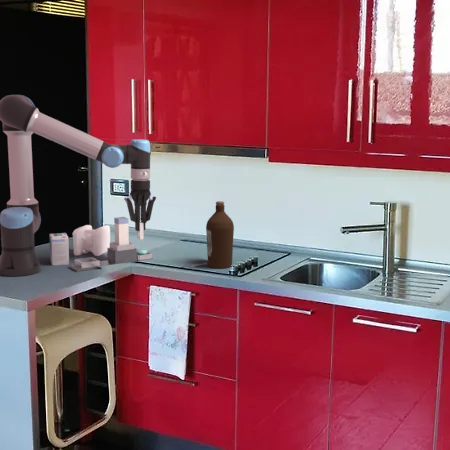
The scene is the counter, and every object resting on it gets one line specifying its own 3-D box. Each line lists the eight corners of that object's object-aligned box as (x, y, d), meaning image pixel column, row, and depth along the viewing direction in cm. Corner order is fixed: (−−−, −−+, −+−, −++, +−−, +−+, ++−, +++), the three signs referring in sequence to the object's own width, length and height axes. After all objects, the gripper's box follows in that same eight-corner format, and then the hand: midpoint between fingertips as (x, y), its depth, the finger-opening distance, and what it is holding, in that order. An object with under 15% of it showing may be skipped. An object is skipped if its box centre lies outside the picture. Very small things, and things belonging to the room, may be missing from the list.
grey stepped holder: (77, 271, 258) (76, 250, 257) (69, 267, 265) (69, 247, 263) (154, 261, 275) (153, 241, 274) (145, 257, 282) (145, 238, 280)
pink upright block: (119, 249, 268) (118, 219, 266) (113, 247, 273) (113, 217, 270) (129, 248, 271) (128, 218, 268) (123, 246, 275) (122, 216, 273)
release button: (139, 255, 273) (139, 252, 273) (134, 253, 277) (134, 250, 277) (149, 254, 276) (149, 250, 275) (144, 252, 279) (144, 248, 279)
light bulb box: (50, 259, 278) (48, 233, 276) (67, 258, 280) (66, 232, 278) (52, 265, 268) (51, 238, 266) (69, 264, 270) (68, 237, 268)
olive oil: (231, 262, 274) (231, 199, 270) (235, 268, 264) (235, 203, 259) (204, 263, 273) (204, 200, 268) (207, 269, 262) (207, 204, 258)
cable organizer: (96, 259, 279) (95, 231, 277) (72, 258, 281) (71, 229, 279) (111, 251, 293) (110, 224, 291) (88, 250, 296) (87, 223, 294)
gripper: (129, 181, 264) (129, 241, 269) (159, 179, 271) (159, 239, 275) (121, 179, 271) (121, 238, 275) (151, 177, 278) (150, 235, 282)
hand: (140, 238), depth 275 cm, fingers closed
